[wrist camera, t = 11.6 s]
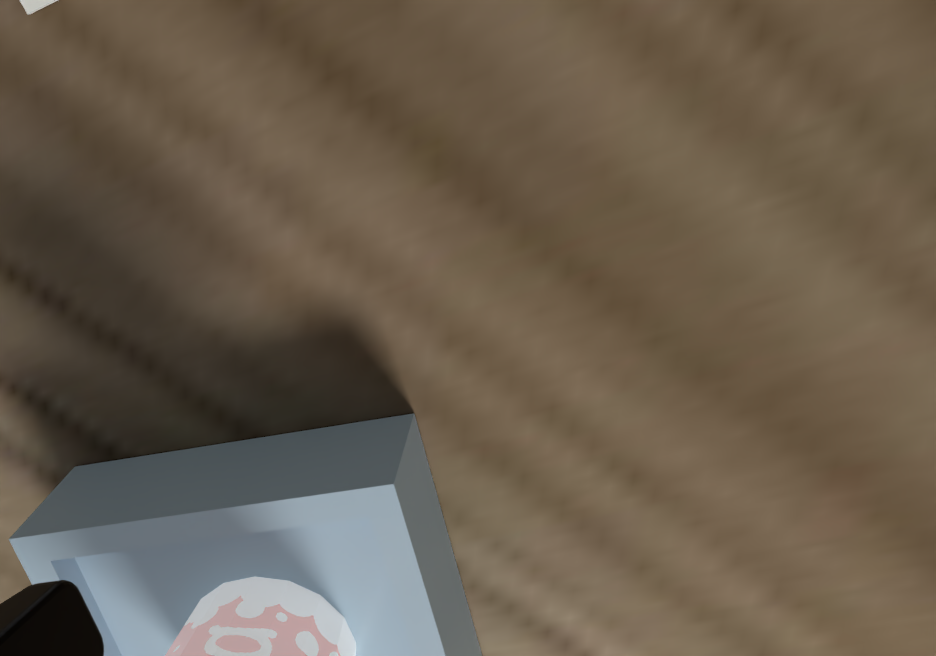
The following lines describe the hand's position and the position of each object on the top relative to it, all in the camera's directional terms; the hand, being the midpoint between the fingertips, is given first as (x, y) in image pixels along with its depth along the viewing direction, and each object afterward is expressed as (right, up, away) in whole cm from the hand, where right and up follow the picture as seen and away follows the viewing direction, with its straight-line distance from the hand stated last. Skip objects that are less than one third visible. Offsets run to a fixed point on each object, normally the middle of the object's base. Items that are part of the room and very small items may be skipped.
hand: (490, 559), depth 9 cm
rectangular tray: (-5, -5, +17) cm, 19 cm away
